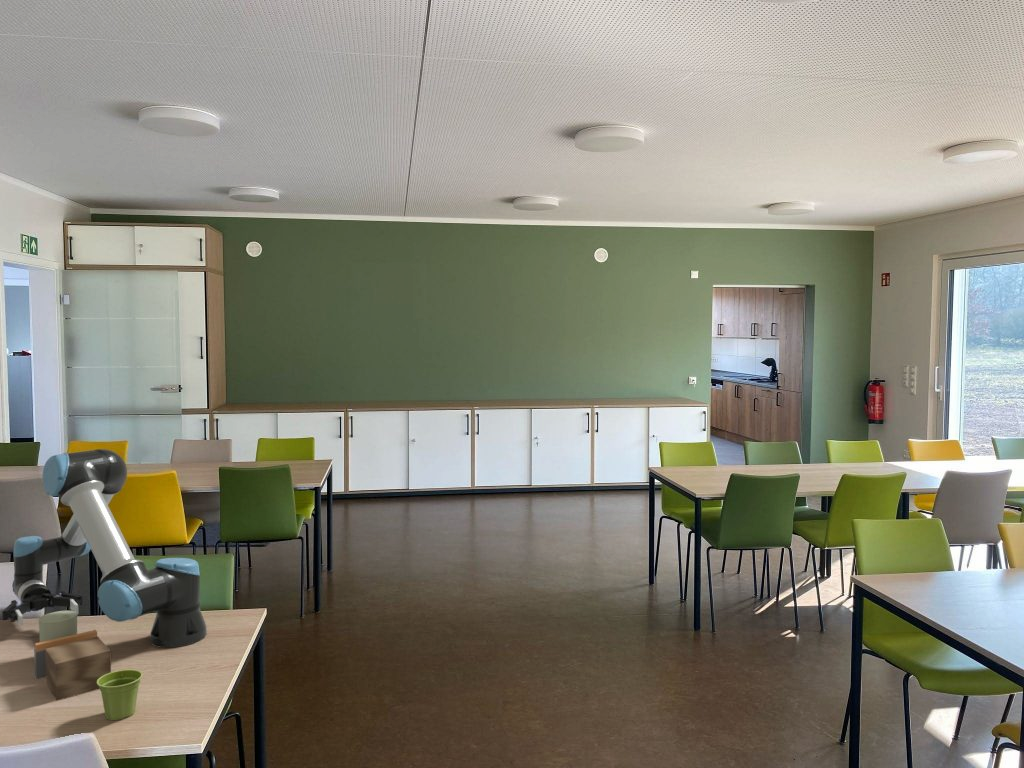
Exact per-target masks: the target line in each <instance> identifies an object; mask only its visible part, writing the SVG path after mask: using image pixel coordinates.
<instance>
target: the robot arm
mask: <svg viewBox="0 0 1024 768" xmlns="http://www.w3.org/2000/svg"><path fill="white" fill-rule="evenodd" d="M127 477H128V468H127V464H126V461H125V460H124V459H123V458H122V456H121V455H119V454H118V453H116V452H115V451H113V450H110V449H105V448H99V449H91V450H83V451H75V452H69V453H68V452H63V453H59V454H55V455H51V456H50V457H49V458H48V459H47V460H46V461H45V463H44V466H43V469H42V478H41V480H42V486H43V489H44V491H45V493H46V494H47V495H48V496H51V497H57V496H58V499H59V500H60V503H61V504H63V506H67V507H70V509H71V511H72V513H73V514H72V516H71V517H70V520H68V521H69V522H68V523H67V525H66V527H65V529H64V530H63V532H62V533H61V535H60V536H59V537H55V538H50V539H44V540H43V538H42V537H41V536H38V535H30V536H23V537H19V538H18V539H17V538H16V540H15V541H14V544H13V555H12V556H13V566H14V567H13V568H14V570H13V571H14V574H13V580H12V585H11V586H12V592H13V593H14V595H15V596H16V598H17V599H18V600H19V601H18V600H15V599H13V600H11V602H10V604H8V606H7V607H6V608H4V609H3V610H1V613H2V621H7V620H10V623H15V622H17V624H18V625H19V626H20V627H23V626H24V616H23V615H24V614H25V613H30V612H38V611H41V610H44V609H45V608H55V607H66V608H67V607H68V608H69V609H70V611H75V612H77V615H79V609H80V608H81V607H80V606H83V605H84V596H83V595H81V594H79V595H78V594H74V593H69V592H65V591H60V592H59V593H58V594H53V593H52V591H51V590H50V589H49V588H48V586H47V585H46V584H45V582H44V581H43V579H44V578H43V569H44V565H48V564H52V563H57V562H61V561H64V560H69V559H73V558H74V559H75V558H79V557H81V556H85V555H87V554H88V553H90V552H92V554H93V556H94V559H95V561H96V562H97V564H98V567H99V569H100V571H101V573H102V577H101V578H100V581H99V583H100V586H99V587H98V590H97V597H98V600H97V601H98V605H99V607H100V609H101V611H102V612H103V613H104V615H105V616H106V617H107V618H108V619H109V620H111V621H115V622H119V623H121V622H122V623H123V622H125V621H130V620H136V619H138V618H139V617H141V616H144V615H147V614H150V613H154V612H156V615H155V617H154V620H153V623H152V628H151V630H150V633H149V634H150V635H149V640H150V644H152V645H153V646H155V647H158V646H159V648H176V647H183V646H187V645H191V644H195V643H196V642H199V641H201V640H203V639H204V638H205V637H206V636H207V632H208V630H207V629H208V628H207V624H206V621H205V619H204V616H203V613H202V610H201V605H200V603H201V598H200V597H201V594H200V589H201V588H200V576H201V573H200V568H199V567H200V566H199V562H198V561H197V560H196V559H192V558H187V557H167V558H160V559H158V560H156V562H155V564H154V568H151V569H148V568H147V567H146V565H145V563H144V561H143V560H139V559H135V556H134V555H133V553H132V550H131V549H130V546H129V543H127V540H126V539H125V536H124V535H123V533H122V531H121V528H120V526H119V524H118V523H117V521H116V519H115V517H114V515H113V513H112V511H111V509H110V507H109V504H110V503H111V500H112V499H113V498H114V495H117V494H119V492H121V490H122V489H123V487H124V485H125V483H126V482H127Z"/></svg>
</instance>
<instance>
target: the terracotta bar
mask: <svg viewBox="0 0 1024 768" xmlns="http://www.w3.org/2000/svg"><path fill="white" fill-rule="evenodd" d="M97 636H98V631H97V630H96V629H93V630H88V631H86V632H85V631H84V632H80V633H77V634H75V635H70V636H66V637H62V638H57V639H53V640H48V641H44V642H40V641H39V642H35V643H34V645H35V647H34V649H35V650H36V651H40V650H45V649H47V648H51V647H55V646H60V645H64V644H68V643H73V642H77V641H81V640H86V639H90V638H94V637H97Z"/></svg>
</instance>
